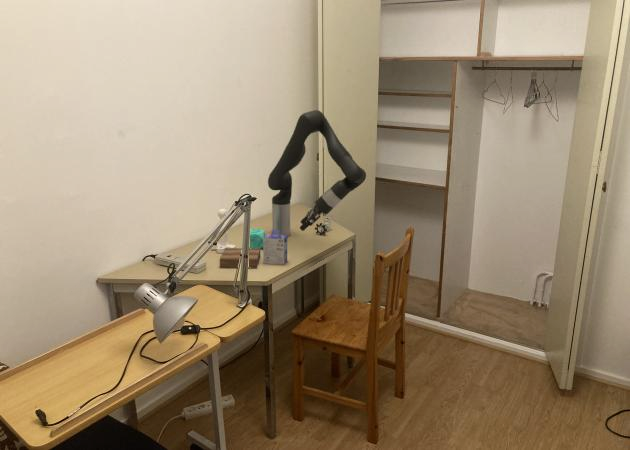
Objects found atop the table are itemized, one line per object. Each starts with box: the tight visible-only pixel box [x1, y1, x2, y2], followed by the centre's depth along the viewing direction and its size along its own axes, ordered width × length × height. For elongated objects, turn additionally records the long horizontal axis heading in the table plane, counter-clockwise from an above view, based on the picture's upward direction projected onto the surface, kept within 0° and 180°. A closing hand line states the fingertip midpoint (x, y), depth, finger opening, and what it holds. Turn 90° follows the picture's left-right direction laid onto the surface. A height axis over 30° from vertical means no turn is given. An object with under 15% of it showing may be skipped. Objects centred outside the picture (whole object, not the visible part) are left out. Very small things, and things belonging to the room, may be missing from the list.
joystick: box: [211, 208, 236, 254], centre depth 248 cm, size 11×8×20 cm
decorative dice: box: [249, 228, 266, 250], centre depth 256 cm, size 8×8×8 cm
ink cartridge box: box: [262, 230, 288, 266], centre depth 236 cm, size 10×6×14 cm, turn 79°
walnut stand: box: [219, 247, 261, 269], centre depth 237 cm, size 14×16×4 cm
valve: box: [314, 216, 332, 236], centre depth 279 cm, size 7×7×12 cm
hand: (301, 226), depth 233 cm, fingers open, 8 cm apart
